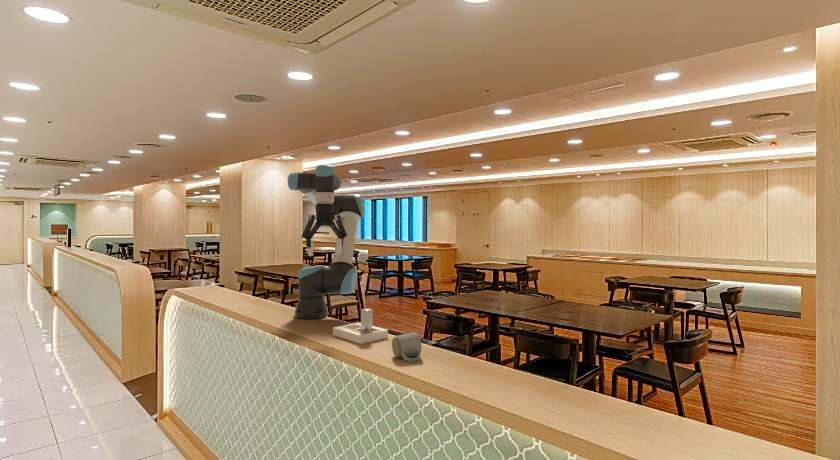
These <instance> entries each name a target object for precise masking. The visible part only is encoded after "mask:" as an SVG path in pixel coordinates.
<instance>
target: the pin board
mask: <svg viewBox="0 0 840 460" xmlns="http://www.w3.org/2000/svg"><path fill="white" fill-rule="evenodd" d="M353 324H354V325H353ZM332 336H333V337H338V338H341V339H343V340H348V341H349V342H350V341H351V342H353V343H356V344H359V345H362V344H367V342H368V343H372V342H376V341H379V340H385V339H388V338H389V329H387V328H386V329H385V328H382V327H378V326H374V325H372V332H368V333H364V332H361V321H360V322H353V323H349V324H343V325H339V326H334V327H333V326H332Z"/></svg>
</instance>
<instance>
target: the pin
mask: <svg viewBox="0 0 840 460" xmlns="http://www.w3.org/2000/svg"><path fill="white" fill-rule="evenodd" d="M373 313H374V312H373V308H362V309H360V323H361V332H364V333H368V332H372V326H373Z"/></svg>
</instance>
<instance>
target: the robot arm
mask: <svg viewBox="0 0 840 460" xmlns="http://www.w3.org/2000/svg"><path fill="white" fill-rule="evenodd" d="M342 184H343V183H342V178H341V177H340V176H339V174H338V173H336V171H335V166H333V165H330V164H320V165H319V164H318V165H316V167H315V172H297V171H296V172H291V173H289V175H288V176H287V186H288V189H289V190H291V191H299V192H300V193H301V194H302V195H303V196H304V197H306V199H308V200H309V202H310V203H311V205H312V207H313V208H314V209H315V214H309V215H308V220H307V222H306V225H305V228H304V230H303V232H302V234H301V238H302V239H304V240H305V243H306V244H305V247H306V248H307V256H309V257H313V256H314V239H312V238H313V237H314V236H315V234H316V233H317V231H318V230H319V229H320V228H321V227H326V226H327V227H330V229H331V230H332V231H333V233H334V234H335V235H336V237H337V238H335V239H336V240H335V241H336V242H335V243H336V244H335V245H336V246H335V251H334V259H333V262H331V263H330V264H329V268H325V266H324V265H314V266H307V267H303V268H300V269H299V271H298V301H297V304H296V307H295V310H294V317H295V318H297V319H301V320H302V319H303V320H305V319H306V320H314V319H322V318H325V317H328V315H329V310H328V307H327V304H326V300H325V295H326V294H328V295H349V294H352V293H354V291H355V290H356V286H357V283H358V270H357V269H356V268H355V266H354V264H353V259H354V258H353V257H354V251H355V250H354V249H355V242H356V234H357V227H358V223H359V222H361V220H362V219H361V218H364V217H365V215H366V212H365V211H366V209H365V203H364V198H363V195H361V194H356V193H351V194H347V193H345V194H344V193H341V194H340V193H339V194H338V193H337V194H335V191H338V190H339V189H340V188H341V187H342ZM315 220H316V222H315ZM314 222H315V223H314ZM324 316H325V317H324Z"/></svg>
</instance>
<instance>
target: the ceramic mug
mask: <svg viewBox="0 0 840 460" xmlns="http://www.w3.org/2000/svg"><path fill="white" fill-rule="evenodd" d="M391 349H392V353H393V355H394V356H395V357H396V358H398V359H403V360H405V362H409V363H416V362H418V361H419V360H420V358H421V353H422V341H421V337H420V335H419V334H418V333H417V332H415V331H414V332H413V331H412V332H409V333H405V334H399V335H395V336H394V337H393V338H392V341H391Z"/></svg>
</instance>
